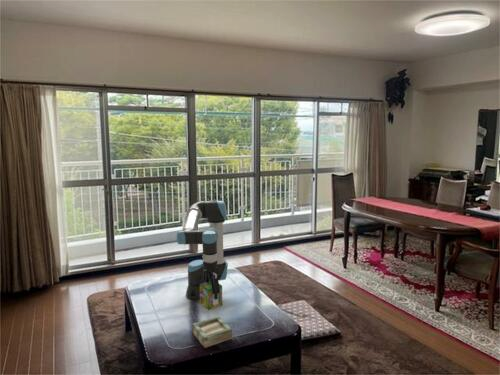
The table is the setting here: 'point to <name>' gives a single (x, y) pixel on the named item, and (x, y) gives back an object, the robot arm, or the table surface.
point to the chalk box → (209, 296)
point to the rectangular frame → (212, 331)
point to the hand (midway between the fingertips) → (211, 300)
